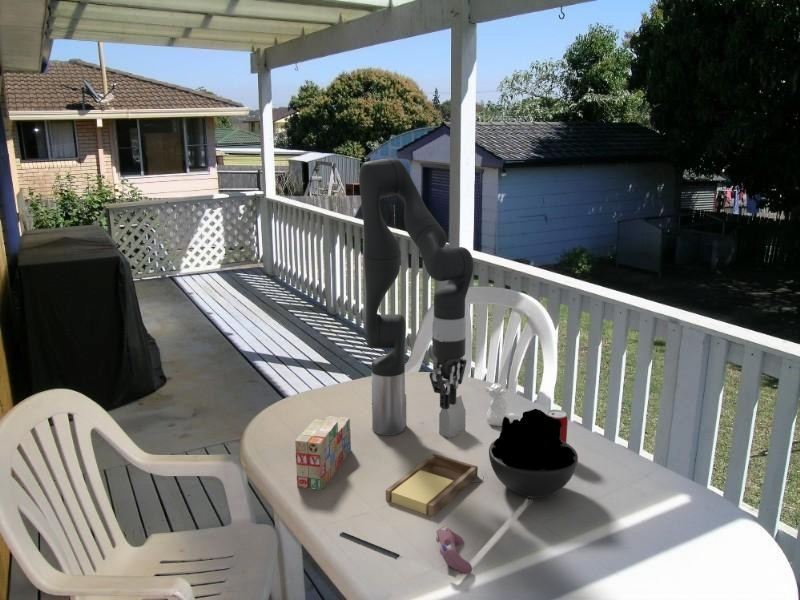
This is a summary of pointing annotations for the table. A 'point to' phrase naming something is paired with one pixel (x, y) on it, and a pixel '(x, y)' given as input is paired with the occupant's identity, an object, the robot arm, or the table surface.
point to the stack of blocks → (322, 451)
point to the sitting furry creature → (498, 406)
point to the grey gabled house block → (452, 419)
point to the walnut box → (444, 468)
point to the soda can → (562, 418)
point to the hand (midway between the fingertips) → (448, 405)
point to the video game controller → (452, 550)
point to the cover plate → (420, 491)
